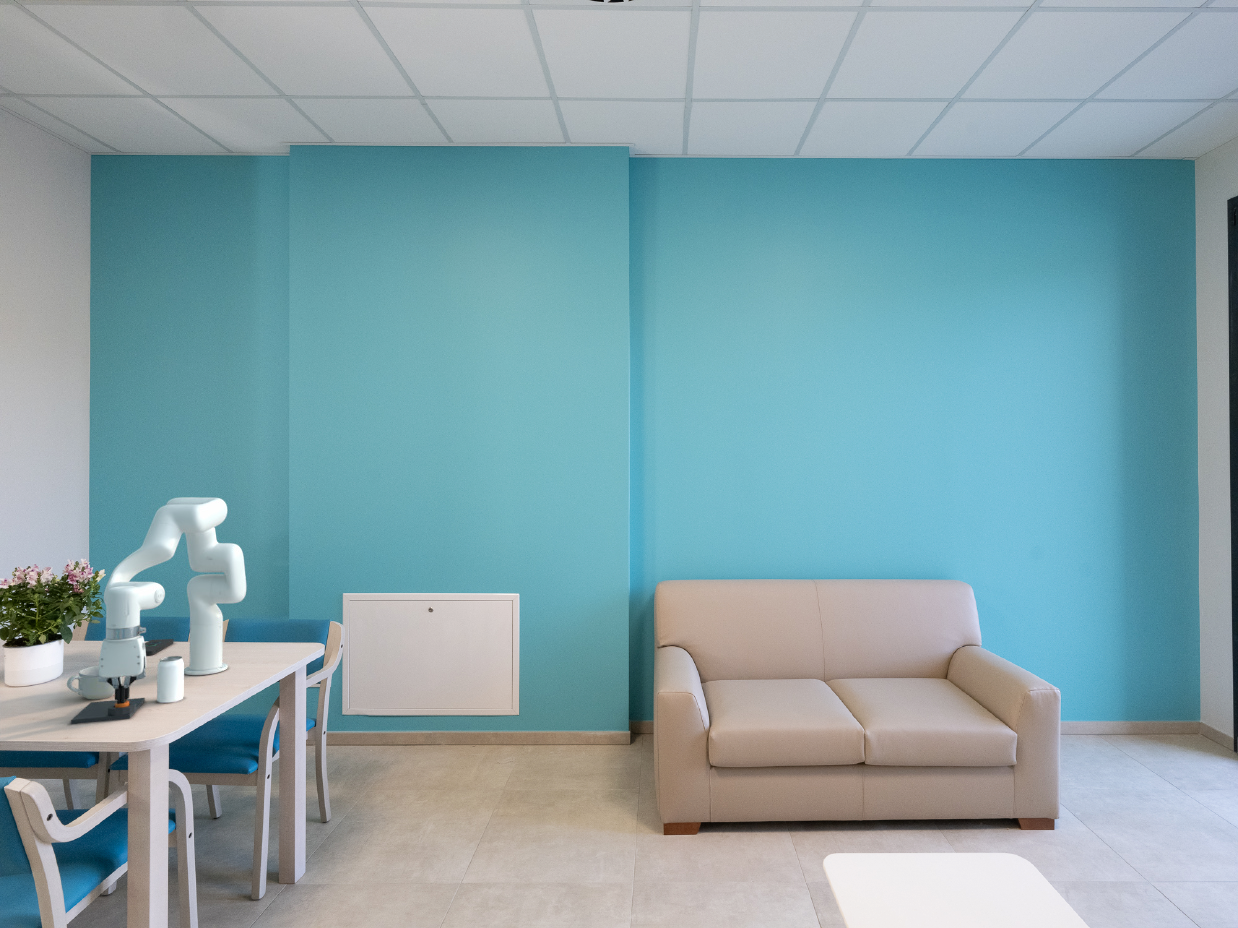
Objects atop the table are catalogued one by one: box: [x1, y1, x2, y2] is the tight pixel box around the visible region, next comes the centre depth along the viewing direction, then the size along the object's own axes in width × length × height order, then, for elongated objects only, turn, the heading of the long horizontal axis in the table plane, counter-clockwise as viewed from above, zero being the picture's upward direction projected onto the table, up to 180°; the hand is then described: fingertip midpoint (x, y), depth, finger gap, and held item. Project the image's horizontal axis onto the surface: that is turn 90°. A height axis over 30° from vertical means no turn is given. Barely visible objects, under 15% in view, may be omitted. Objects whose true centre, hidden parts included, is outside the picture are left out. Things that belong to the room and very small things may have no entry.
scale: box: [70, 697, 146, 725], centre depth 202 cm, size 16×14×3 cm
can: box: [156, 655, 185, 704], centre depth 213 cm, size 6×6×12 cm
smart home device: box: [145, 638, 175, 657], centre depth 275 cm, size 8×2×20 cm
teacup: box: [66, 665, 123, 700], centre depth 215 cm, size 14×11×8 cm
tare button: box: [115, 701, 129, 708], centre depth 199 cm, size 3×3×2 cm
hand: (122, 701), depth 199 cm, fingers closed
